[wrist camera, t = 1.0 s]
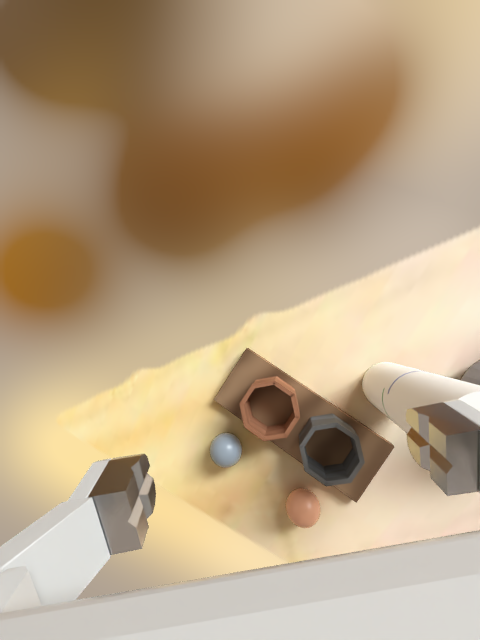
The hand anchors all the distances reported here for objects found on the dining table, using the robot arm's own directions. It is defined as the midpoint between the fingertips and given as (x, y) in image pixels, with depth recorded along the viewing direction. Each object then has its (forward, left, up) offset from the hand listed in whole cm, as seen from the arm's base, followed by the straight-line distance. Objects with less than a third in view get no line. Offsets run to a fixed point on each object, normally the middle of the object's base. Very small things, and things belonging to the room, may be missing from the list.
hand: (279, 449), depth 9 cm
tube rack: (-6, +7, -40) cm, 41 cm away
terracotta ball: (-13, +17, -38) cm, 44 cm away
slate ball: (+1, +17, -38) cm, 41 cm away
